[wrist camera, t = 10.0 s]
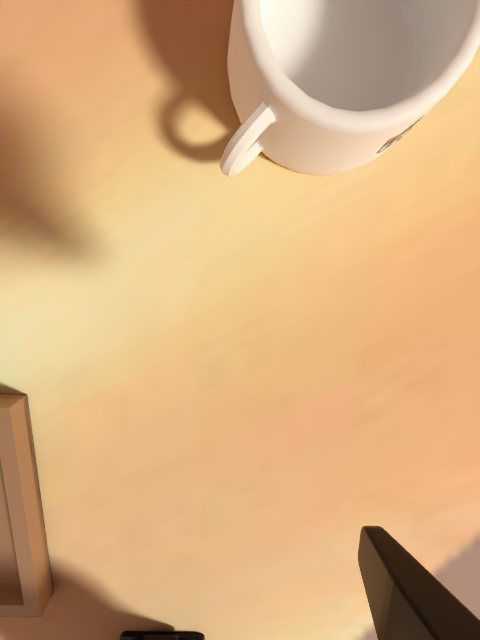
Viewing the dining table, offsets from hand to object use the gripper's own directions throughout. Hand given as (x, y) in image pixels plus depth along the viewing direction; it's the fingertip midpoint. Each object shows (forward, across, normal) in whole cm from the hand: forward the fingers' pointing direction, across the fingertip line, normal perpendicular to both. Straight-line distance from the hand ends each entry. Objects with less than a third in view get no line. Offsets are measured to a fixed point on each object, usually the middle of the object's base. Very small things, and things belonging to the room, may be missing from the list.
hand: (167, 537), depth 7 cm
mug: (+13, -5, -14) cm, 20 cm away
